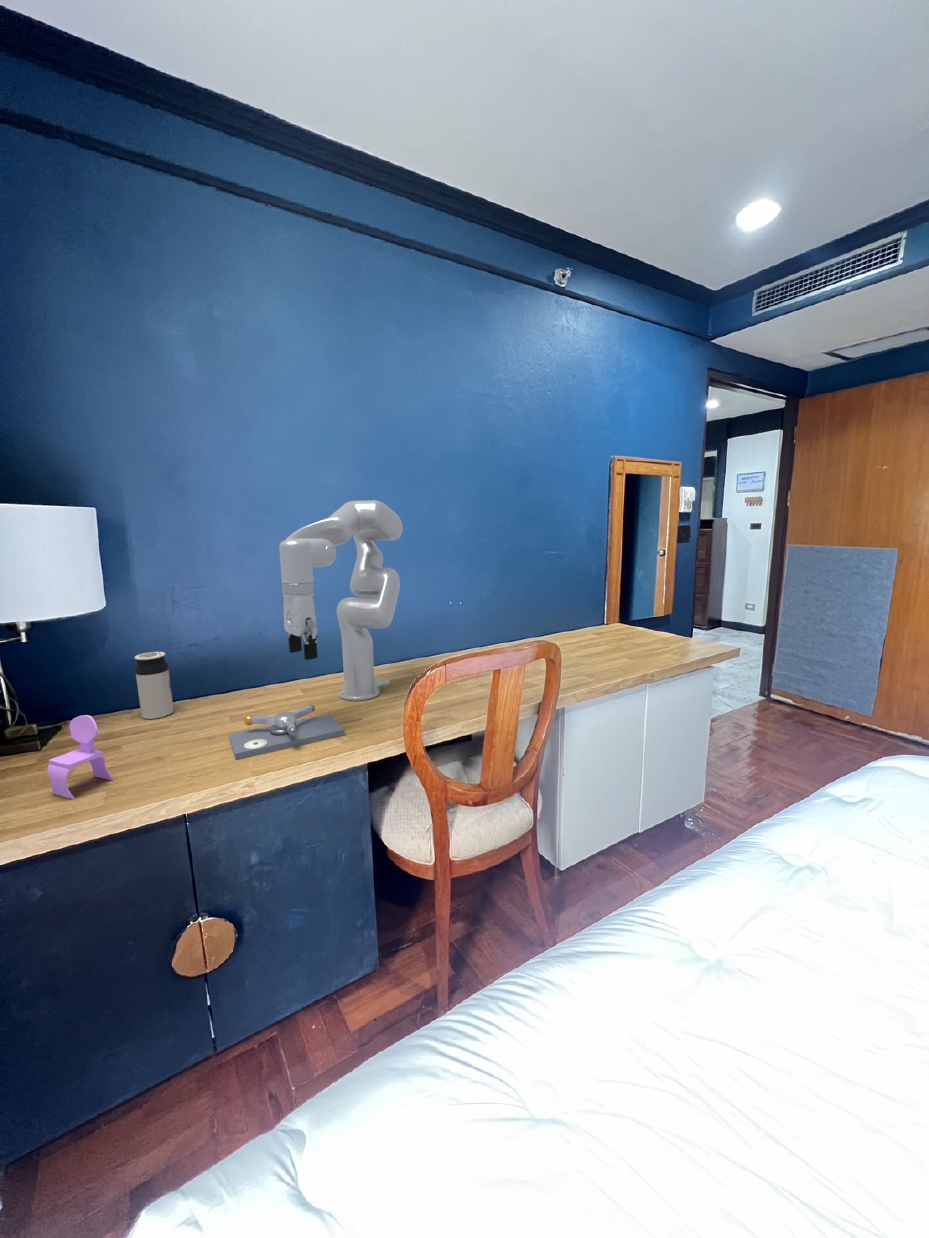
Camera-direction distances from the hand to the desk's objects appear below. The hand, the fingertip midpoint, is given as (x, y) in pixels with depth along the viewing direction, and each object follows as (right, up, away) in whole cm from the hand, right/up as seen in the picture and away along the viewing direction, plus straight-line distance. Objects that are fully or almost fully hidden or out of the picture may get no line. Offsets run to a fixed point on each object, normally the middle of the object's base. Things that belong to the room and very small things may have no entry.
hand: (303, 655), depth 128 cm
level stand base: (-4, -21, 0) cm, 22 cm away
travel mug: (-48, -19, +16) cm, 54 cm away
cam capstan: (-7, -19, 0) cm, 21 cm away
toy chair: (-39, -26, -24) cm, 52 cm away
